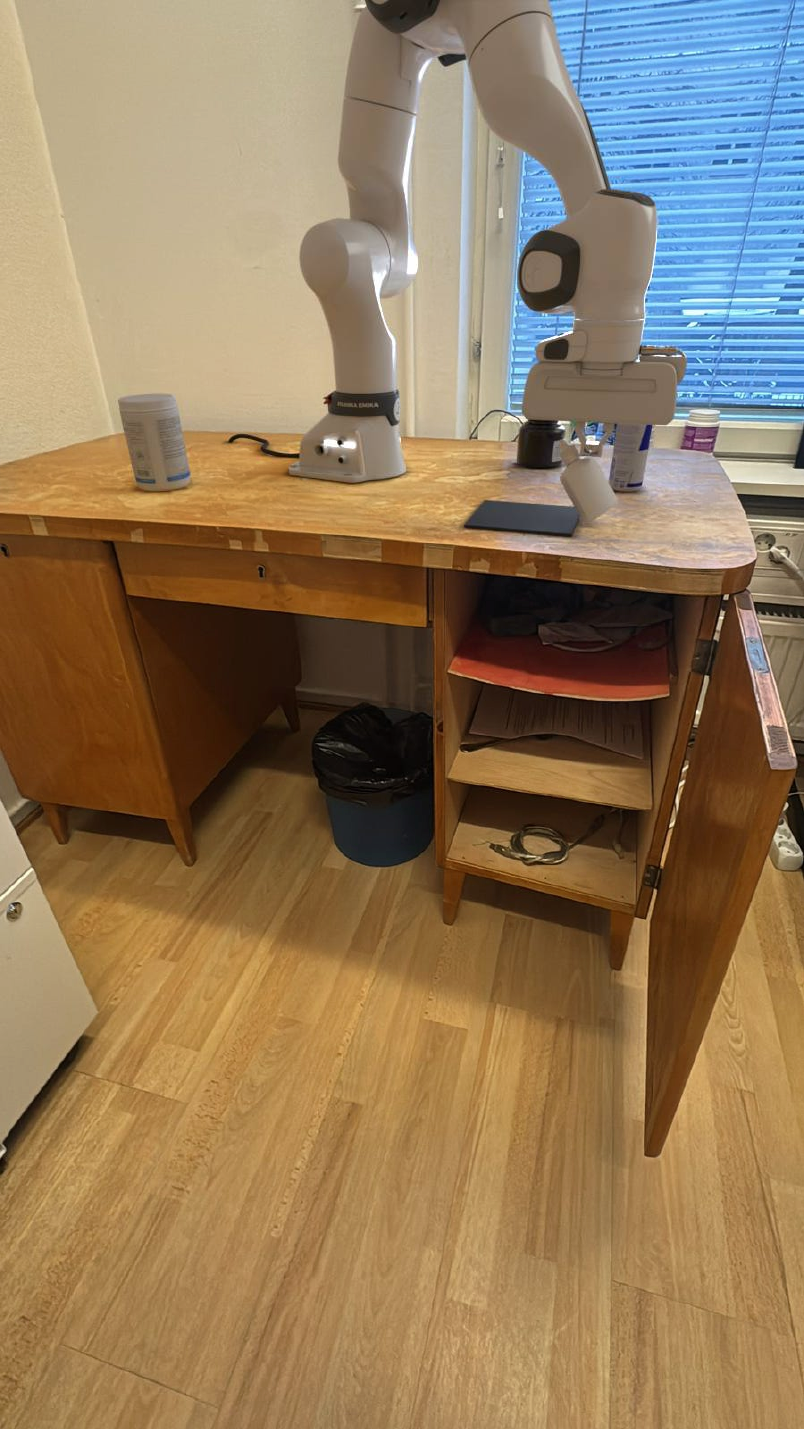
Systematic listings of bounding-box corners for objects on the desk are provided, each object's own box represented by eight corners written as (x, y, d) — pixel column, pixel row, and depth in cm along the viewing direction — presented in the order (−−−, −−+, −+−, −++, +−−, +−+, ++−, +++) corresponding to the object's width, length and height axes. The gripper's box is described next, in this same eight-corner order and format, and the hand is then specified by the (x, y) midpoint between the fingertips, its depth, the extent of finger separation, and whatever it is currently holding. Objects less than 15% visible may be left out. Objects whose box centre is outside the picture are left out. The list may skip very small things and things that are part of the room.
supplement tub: (189, 477, 128) (174, 391, 120) (194, 489, 121) (179, 398, 113) (135, 482, 125) (116, 395, 118) (137, 495, 118) (117, 402, 110)
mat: (463, 527, 100) (463, 524, 100) (484, 502, 111) (484, 500, 111) (571, 536, 96) (572, 533, 96) (582, 509, 107) (582, 507, 107)
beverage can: (643, 493, 115) (660, 396, 107) (608, 492, 116) (622, 395, 108) (640, 485, 119) (656, 391, 111) (606, 484, 120) (620, 390, 112)
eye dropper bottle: (583, 521, 103) (543, 450, 100) (618, 500, 101) (578, 427, 98) (584, 526, 99) (543, 452, 96) (620, 504, 97) (579, 428, 94)
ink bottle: (566, 469, 130) (574, 400, 124) (519, 470, 130) (525, 401, 124) (557, 458, 138) (564, 393, 132) (513, 458, 138) (518, 394, 132)
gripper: (689, 344, 89) (668, 455, 96) (532, 342, 94) (523, 447, 102) (690, 348, 84) (668, 465, 91) (524, 345, 89) (515, 456, 96)
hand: (590, 456), depth 96 cm, fingers closed
